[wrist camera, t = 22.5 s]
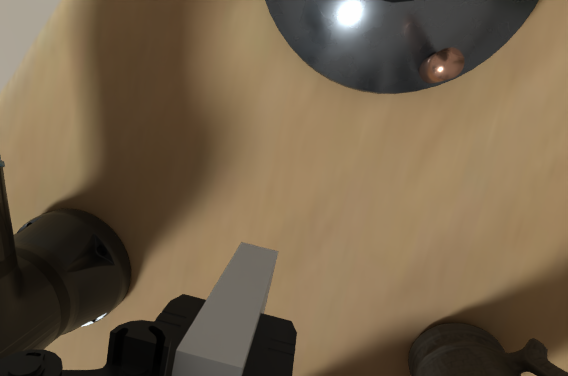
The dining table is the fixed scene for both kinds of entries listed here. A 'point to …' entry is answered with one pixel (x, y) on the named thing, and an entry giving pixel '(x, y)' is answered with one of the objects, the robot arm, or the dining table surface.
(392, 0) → the coffee jar
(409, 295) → the dining table surface
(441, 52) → the disc
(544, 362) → the beer stein
